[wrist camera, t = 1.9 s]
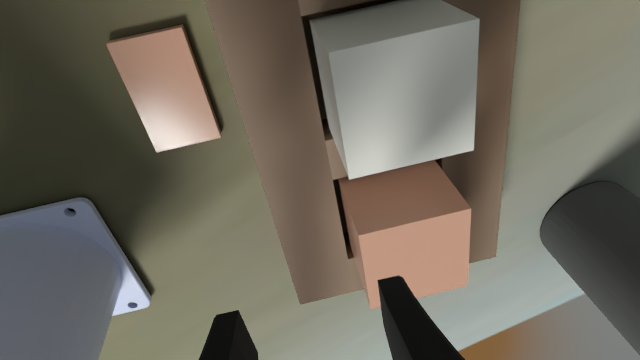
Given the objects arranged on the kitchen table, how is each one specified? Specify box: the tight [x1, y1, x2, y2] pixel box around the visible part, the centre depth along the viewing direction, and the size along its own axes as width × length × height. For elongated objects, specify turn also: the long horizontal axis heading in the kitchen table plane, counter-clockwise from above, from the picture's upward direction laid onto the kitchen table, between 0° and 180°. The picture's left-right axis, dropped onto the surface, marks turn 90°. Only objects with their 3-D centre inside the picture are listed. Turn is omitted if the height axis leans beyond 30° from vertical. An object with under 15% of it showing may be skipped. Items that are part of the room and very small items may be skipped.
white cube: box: [309, 0, 480, 180], centre depth 15 cm, size 4×4×4 cm
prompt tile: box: [106, 24, 221, 152], centre depth 18 cm, size 3×5×1 cm, turn 11°
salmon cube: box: [338, 160, 471, 309], centre depth 19 cm, size 4×4×4 cm
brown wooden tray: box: [205, 0, 520, 305], centre depth 17 cm, size 11×24×3 cm, turn 11°
